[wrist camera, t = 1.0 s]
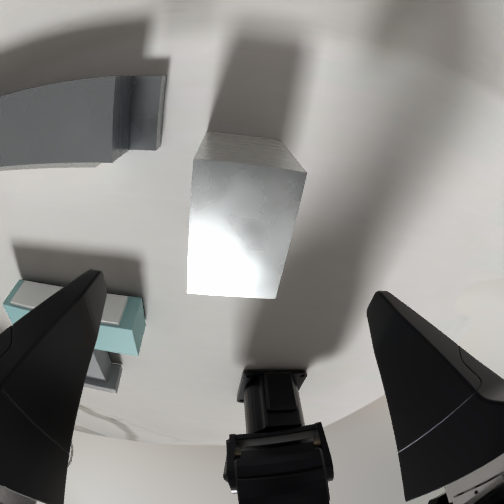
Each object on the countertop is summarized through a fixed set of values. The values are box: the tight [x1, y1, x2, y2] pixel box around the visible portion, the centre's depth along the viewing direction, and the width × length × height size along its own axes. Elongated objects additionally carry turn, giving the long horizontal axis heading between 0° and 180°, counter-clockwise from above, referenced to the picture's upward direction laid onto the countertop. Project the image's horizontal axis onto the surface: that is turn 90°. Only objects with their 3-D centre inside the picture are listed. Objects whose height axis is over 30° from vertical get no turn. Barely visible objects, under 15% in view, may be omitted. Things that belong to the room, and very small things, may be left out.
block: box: [187, 132, 307, 299], centre depth 14 cm, size 6×4×6 cm, turn 171°
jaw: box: [3, 280, 146, 393], centre depth 20 cm, size 11×12×3 cm
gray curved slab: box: [0, 76, 167, 171], centre depth 11 cm, size 4×15×4 cm, turn 81°
